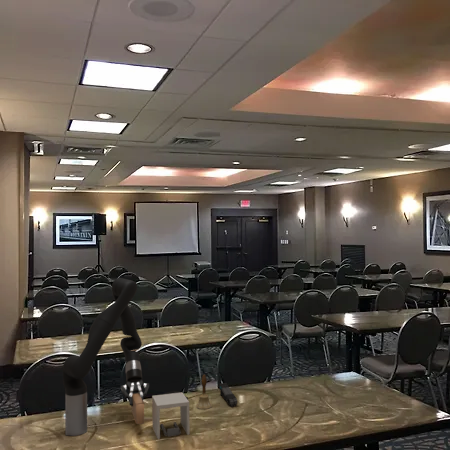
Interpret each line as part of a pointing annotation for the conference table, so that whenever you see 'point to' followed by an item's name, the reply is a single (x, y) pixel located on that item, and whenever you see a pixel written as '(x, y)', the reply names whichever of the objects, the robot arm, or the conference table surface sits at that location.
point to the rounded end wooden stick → (138, 408)
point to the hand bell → (204, 397)
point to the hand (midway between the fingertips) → (136, 405)
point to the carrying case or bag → (174, 392)
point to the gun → (227, 394)
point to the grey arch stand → (170, 402)
